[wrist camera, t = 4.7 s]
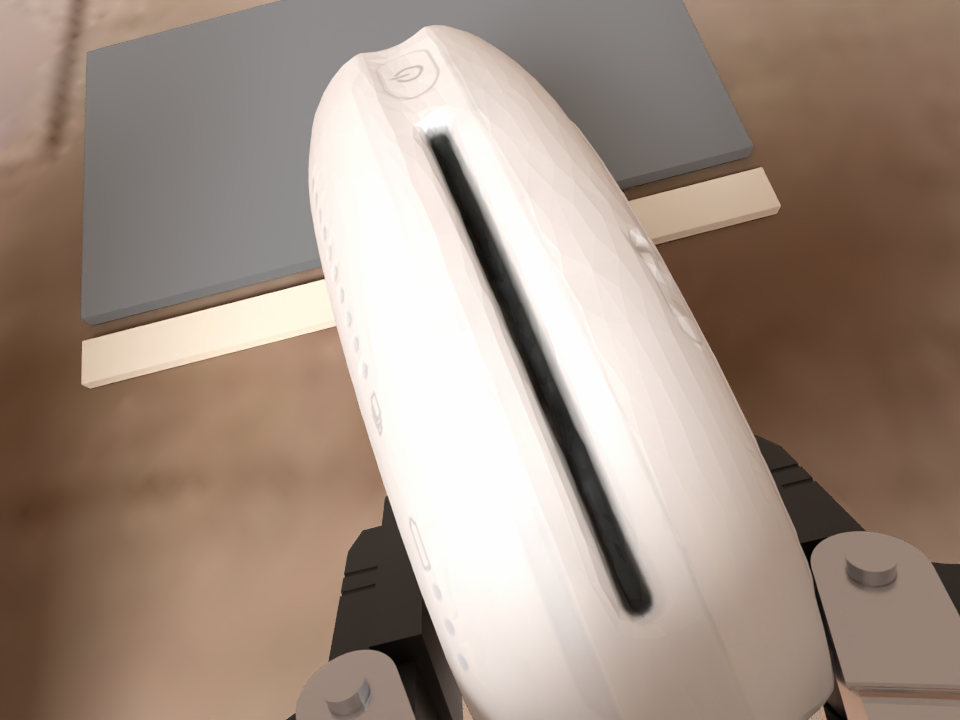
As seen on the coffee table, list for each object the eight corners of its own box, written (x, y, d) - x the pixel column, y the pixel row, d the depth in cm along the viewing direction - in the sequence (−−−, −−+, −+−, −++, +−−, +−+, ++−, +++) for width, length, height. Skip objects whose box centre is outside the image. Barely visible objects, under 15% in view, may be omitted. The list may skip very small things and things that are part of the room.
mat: (634, -82, 26) (635, -95, 25) (777, 213, 20) (782, 203, 20) (95, 62, 26) (86, 51, 26) (90, 388, 21) (79, 383, 20)
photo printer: (415, 364, 20) (201, 9, 8) (549, 312, 20) (518, -110, 8) (543, 736, 16) (472, 1026, 4) (711, 670, 16) (1074, 784, 4)
